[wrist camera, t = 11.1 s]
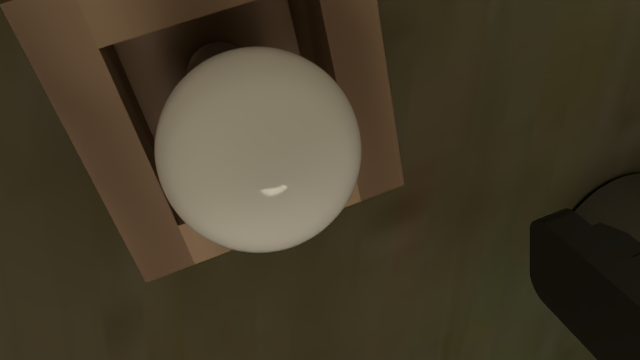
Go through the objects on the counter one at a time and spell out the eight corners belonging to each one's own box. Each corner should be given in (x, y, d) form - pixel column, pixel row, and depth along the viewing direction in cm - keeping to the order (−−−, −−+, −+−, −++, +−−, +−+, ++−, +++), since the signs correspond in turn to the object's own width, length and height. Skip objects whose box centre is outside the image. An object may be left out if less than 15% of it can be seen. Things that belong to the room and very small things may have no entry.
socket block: (309, -114, 22) (362, -101, 18) (356, 130, 29) (404, 184, 24) (20, -33, 21) (-1, 4, 16) (137, 208, 27) (145, 282, 22)
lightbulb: (131, -10, 22) (156, 99, 13) (292, -9, 24) (411, 85, 15) (144, 141, 25) (172, 312, 16) (286, 130, 27) (380, 278, 18)
